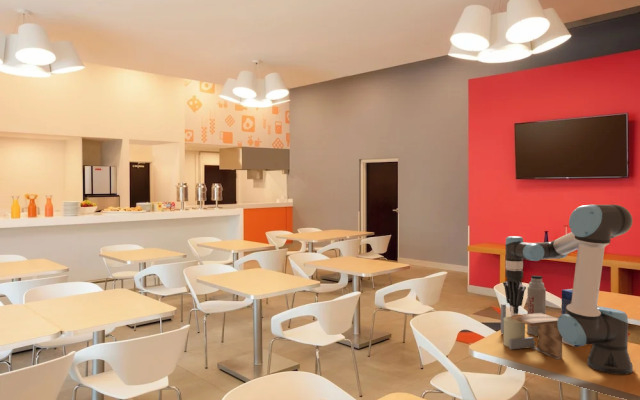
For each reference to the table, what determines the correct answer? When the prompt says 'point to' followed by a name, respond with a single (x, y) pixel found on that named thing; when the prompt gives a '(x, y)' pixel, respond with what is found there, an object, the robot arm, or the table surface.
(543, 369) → the table surface
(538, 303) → the thermos bottle
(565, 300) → the juice carton
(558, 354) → the brown angular piece
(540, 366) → the table surface
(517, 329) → the can
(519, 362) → the table surface
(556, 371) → the table surface
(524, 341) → the slider
